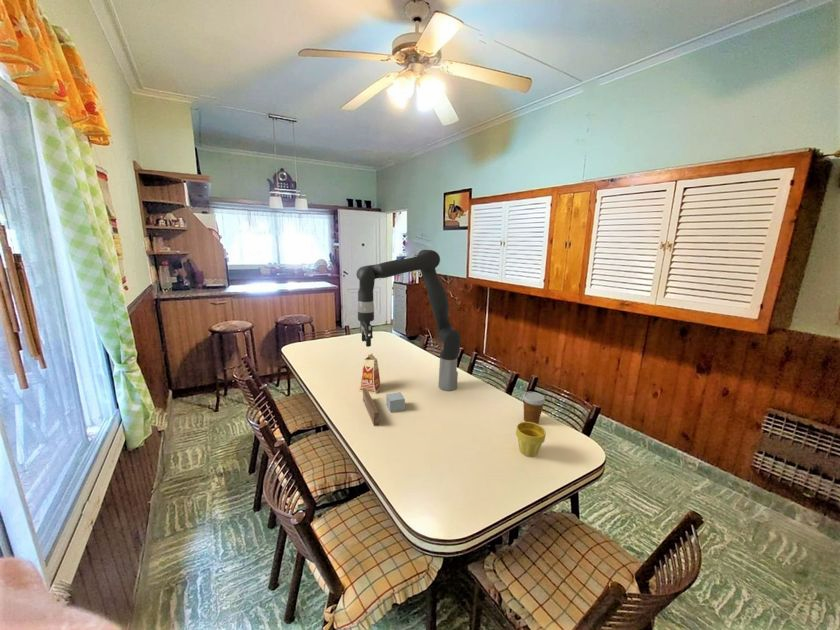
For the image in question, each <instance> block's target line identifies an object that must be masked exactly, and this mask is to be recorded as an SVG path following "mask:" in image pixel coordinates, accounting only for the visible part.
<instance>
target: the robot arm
mask: <svg viewBox="0 0 840 630" xmlns="http://www.w3.org/2000/svg"><path fill="white" fill-rule="evenodd" d="M440 262H441V257H440V255H439V253H438V252H437V251H436V250H432V249H422V250H420V251H419V252H418V254H417V256H416V255H415V256H412V257H409V258H403V259H402V258H401V259H399V258H398V259H394V260H389V261H388V260H387V261H385V262H381V263H376V264H369V265H364V266H361V267H359V268H358V269H357V270H356V273H355V274H356V277H357V280H358V281H359V288H358V290H357V321H359V325H360V326H359V328H360V329H359V330H360V331H359V332H360V333H361V342H365V346H366V347H369V348H370V347H371V346H372V339H373V325H371V322H374V320H375V304H374V289H375V282H376V281H375V280H376V279H387V278H391V277H394V276H398V275H402V274H405V273H409V272H415V271H420V273H421V276H422V279H423V280H424V281H423V282H424V285H425V289H426V293H427V295H428V296H427V297H428V300H429V303H430V307H431V310H432V313H433V316H434V319H435V322H436V329H437V334H438V339H439V340H440V342H442V343H443V349H442V350H441V351H440V352H439V367H438V388H439V389H440V390H442V391H446V392H451V391H453V390H455V389H457V388H458V379H459V378H458V375H459V372H458V370H457V368H458V367H457V366H458V355H459V352H460V347H461V335H460V331H458V330H456V329H455V328H453V326H452V324H451V321H450V316H449V309H450V301H449V298H448V294H447V290H446V289H445V287H444V285H443V283H442V281H441V280H440V277H439V276H438V274H437V270H436V268H437V267H438V266H439V265H440Z"/></svg>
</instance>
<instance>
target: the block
mask: <svg viewBox="0 0 840 630" xmlns="http://www.w3.org/2000/svg"><path fill="white" fill-rule="evenodd" d="M385 396H386V397H385V398H386V399H385V400H386V401H385V406H386V408H387V410H388V411H390V412H391V413H397V411H398V412H403V410H404V411H405V410H406V408H405V406H406V405H405V403H406V399H405V397H404V395H403V394H402V392H401V391H400V392H398V391H397V392H392V393H386V395H385ZM390 412H389V413H390Z"/></svg>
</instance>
